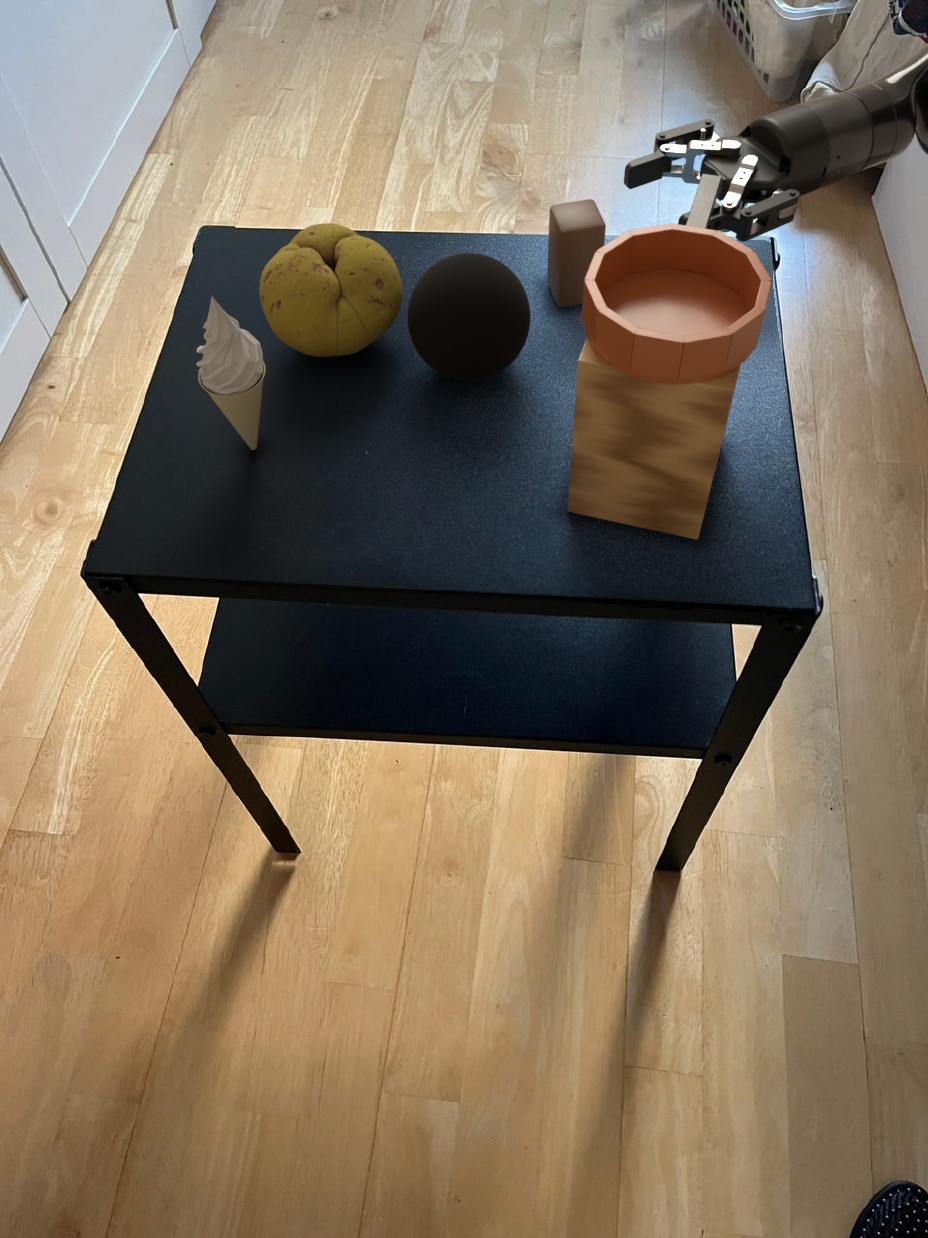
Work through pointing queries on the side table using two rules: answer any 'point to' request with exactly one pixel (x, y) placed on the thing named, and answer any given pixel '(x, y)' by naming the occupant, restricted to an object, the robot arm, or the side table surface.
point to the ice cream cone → (232, 372)
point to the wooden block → (572, 248)
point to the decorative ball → (469, 317)
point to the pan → (676, 298)
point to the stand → (645, 446)
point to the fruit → (330, 291)
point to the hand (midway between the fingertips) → (652, 202)
